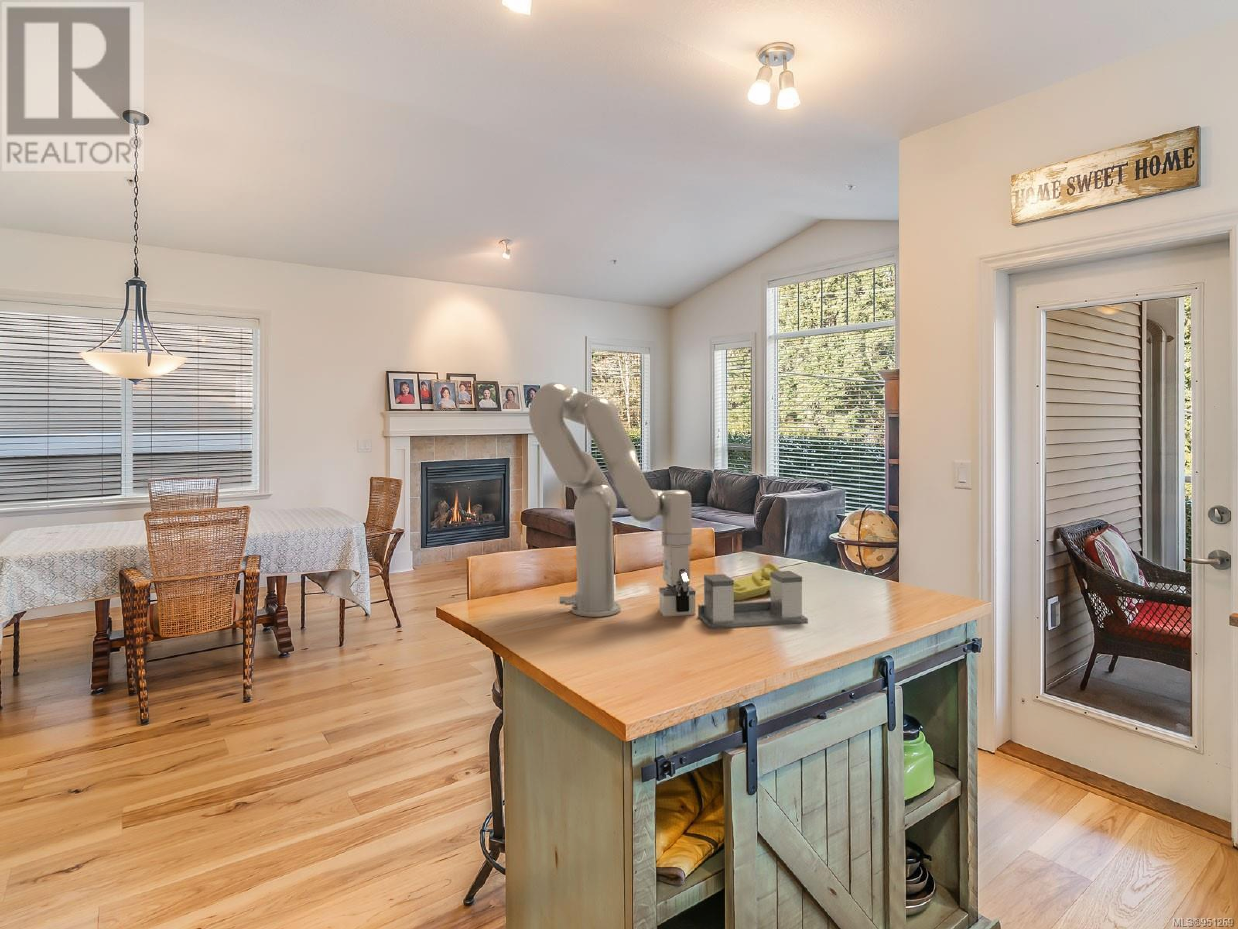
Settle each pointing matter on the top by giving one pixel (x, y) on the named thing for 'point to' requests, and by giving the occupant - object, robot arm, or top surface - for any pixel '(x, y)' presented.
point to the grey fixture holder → (752, 603)
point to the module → (669, 601)
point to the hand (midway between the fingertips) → (677, 606)
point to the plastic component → (754, 583)
